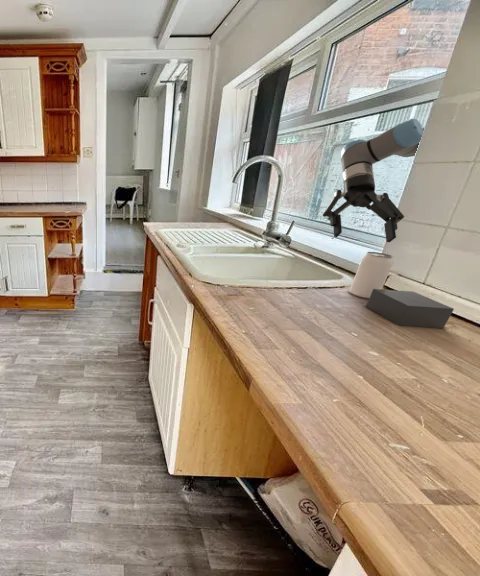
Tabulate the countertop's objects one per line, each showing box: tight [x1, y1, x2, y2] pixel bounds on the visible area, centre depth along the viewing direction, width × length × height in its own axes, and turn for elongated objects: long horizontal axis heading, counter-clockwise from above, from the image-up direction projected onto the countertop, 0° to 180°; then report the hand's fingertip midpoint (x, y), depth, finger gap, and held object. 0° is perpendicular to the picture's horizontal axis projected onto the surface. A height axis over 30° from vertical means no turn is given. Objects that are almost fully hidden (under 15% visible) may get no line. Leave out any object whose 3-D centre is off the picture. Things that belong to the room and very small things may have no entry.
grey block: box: [365, 289, 455, 329], centre depth 74 cm, size 10×10×5 cm
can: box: [349, 251, 394, 300], centre depth 85 cm, size 6×6×12 cm
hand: (364, 237), depth 91 cm, fingers open, 13 cm apart
